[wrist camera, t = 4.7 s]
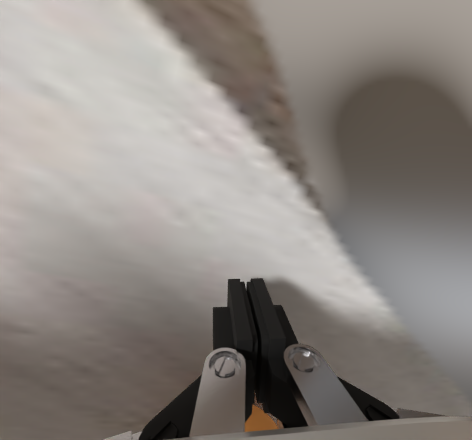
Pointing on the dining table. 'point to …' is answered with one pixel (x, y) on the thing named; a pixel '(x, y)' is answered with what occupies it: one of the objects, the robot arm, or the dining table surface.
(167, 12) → the dining table surface
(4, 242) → the dining table surface
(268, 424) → the ball
